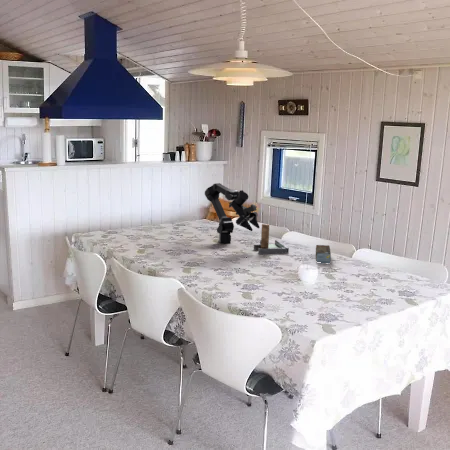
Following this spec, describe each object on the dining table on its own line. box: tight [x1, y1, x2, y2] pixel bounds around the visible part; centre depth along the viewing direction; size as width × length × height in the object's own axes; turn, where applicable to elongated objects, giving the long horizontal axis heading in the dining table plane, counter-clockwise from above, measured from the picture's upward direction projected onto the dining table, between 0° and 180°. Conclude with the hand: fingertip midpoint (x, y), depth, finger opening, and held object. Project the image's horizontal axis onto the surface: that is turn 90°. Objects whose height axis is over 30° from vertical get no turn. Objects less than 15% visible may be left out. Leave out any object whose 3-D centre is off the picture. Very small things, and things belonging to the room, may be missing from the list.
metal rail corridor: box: [253, 239, 290, 255], centre depth 321 cm, size 18×21×3 cm
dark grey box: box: [315, 244, 332, 264], centre depth 302 cm, size 8×19×7 cm, turn 171°
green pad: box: [268, 243, 279, 248], centre depth 328 cm, size 7×9×1 cm
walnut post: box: [260, 223, 270, 248], centre depth 314 cm, size 4×4×16 cm
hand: (255, 229), depth 316 cm, fingers open, 9 cm apart
